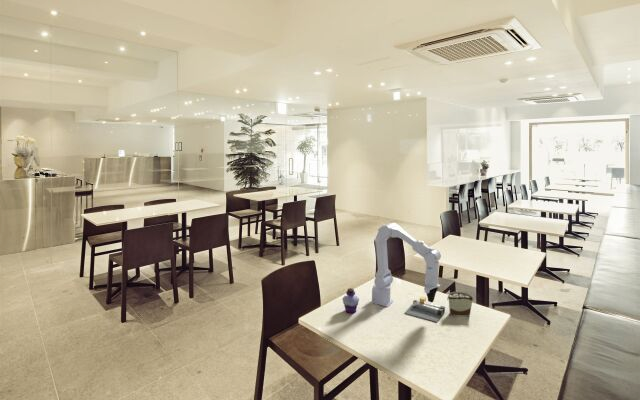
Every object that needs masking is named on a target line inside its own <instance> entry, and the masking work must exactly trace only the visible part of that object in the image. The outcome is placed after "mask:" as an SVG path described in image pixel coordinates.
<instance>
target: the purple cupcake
mask: <svg viewBox="0 0 640 400" xmlns="http://www.w3.org/2000/svg"><path fill="white" fill-rule="evenodd" d="M345 294H346V295H344V296H343V297H342V299H341V300H342V303H343V306H344V310H345V313H346V314H349V315H353V314H356V313H357V307H358V305H359V301H360V298H359V297H358V296H357V295H356V292H355V289H354V288H351V287H349V288H347V290H346V293H345Z"/></svg>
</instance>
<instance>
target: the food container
mask: <svg viewBox="0 0 640 400" xmlns="http://www.w3.org/2000/svg"><path fill="white" fill-rule="evenodd" d="M447 301H448V307H449V316H456V317H458V316H461V317H464V316H466V317H470V315H471V310H472V306H473V305H472V304H473V302H474V297H473V295H471V294H469V293H466V292H463V291H452V292H449V293H448V294H447Z"/></svg>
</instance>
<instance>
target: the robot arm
mask: <svg viewBox="0 0 640 400" xmlns="http://www.w3.org/2000/svg"><path fill="white" fill-rule="evenodd" d="M377 230H378V231H377V233H376V235H375V246H376V260H377V261H376V262H377V271H376V273H375V278H374V284H373V287H372V290H371V301H370V302H371V303H372V304H375V305H380V306H383V307H387V308H388V307H389V306H390V305H391V304H392V303H393V302H394V300H393V299H391V287H392V286H391V284H392V283H393V281H394V277H393V275H392V273H391V272H392V271H391V270H390V269H389V260H388V259H389V257H388V256H389V255H388V244H387V240H388V239H390V238H399V239H401V240H402V241H404V242H405V243H406V244H408V245H409V246H411V247H412V250H413V251H414V252H415V253H416V254H418V255H419V256H420V257H422V258H423V259H424V262H425V281H424V293H425V294H426V296H427V297H426V299H427V301H428V302H427V303H434V300H435V297H436V295H437V294H436V293H437V292H438V290H439V288H441V284H439V269H440V268H439V265H440V264H439V263H440V262H439V260H440V259H441V257H442V255H441V252H440V251H439V250H438V249H436V248H433V247H430V246H428V245H427V244H426V243H425V241H423V240H419V239H418V240H416V239H415V238H414V237H412V236H411V235H410V234H409V233H407V232H406V231H405V230H404V229H403V228H402V227H401V225H399V224H398V223H396V222H390V223H387V224H384V225H381V226H380V227H379V228H378V229H377Z"/></svg>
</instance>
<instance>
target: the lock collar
mask: <svg viewBox="0 0 640 400" xmlns="http://www.w3.org/2000/svg"><path fill="white" fill-rule="evenodd" d="M419 301H420V303H423V304H424V303H425V302H427V297H426V296H420V298H419Z"/></svg>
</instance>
